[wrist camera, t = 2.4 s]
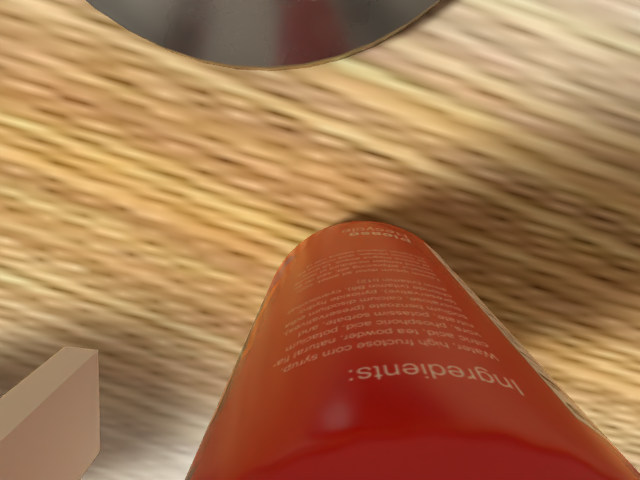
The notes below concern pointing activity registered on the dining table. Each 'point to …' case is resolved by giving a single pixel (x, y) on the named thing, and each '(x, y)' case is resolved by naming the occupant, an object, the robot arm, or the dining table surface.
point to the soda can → (391, 378)
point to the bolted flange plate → (265, 28)
